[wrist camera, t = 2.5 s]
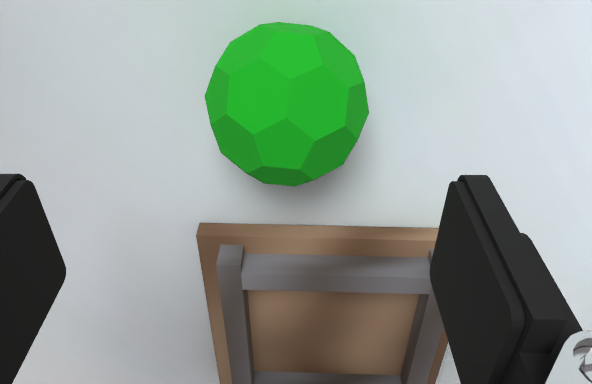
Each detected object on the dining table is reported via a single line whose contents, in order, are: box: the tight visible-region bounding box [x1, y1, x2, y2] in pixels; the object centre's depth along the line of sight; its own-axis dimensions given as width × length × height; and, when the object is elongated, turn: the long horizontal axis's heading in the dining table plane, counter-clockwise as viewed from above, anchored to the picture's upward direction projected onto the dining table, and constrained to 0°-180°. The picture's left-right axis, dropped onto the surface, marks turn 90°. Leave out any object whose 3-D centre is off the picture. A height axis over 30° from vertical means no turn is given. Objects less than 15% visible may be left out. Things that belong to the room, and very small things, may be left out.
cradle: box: [196, 223, 448, 384], centre depth 24 cm, size 12×12×2 cm
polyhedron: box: [205, 22, 369, 186], centre depth 15 cm, size 5×5×5 cm
